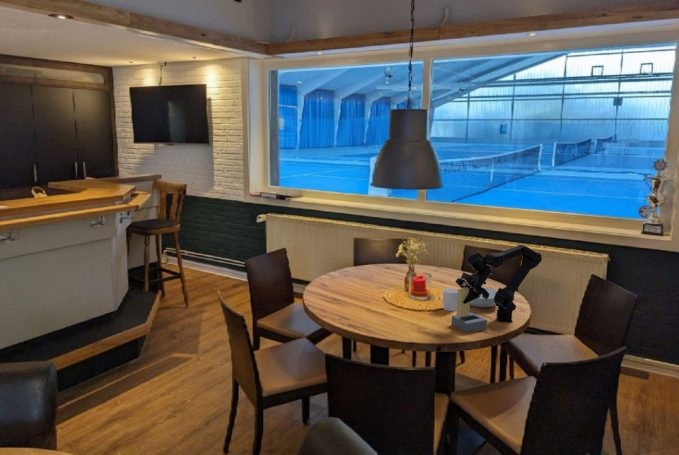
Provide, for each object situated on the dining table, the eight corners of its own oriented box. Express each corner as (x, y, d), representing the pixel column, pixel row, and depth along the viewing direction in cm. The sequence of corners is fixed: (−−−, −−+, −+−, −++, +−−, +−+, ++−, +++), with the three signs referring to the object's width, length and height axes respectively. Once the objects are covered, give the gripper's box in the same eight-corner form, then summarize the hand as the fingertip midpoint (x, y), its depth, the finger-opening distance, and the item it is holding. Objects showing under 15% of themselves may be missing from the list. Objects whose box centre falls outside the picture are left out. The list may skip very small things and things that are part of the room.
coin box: (471, 321, 254) (471, 312, 253) (486, 328, 244) (487, 319, 243) (451, 324, 248) (451, 315, 248) (466, 332, 239) (466, 323, 238)
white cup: (450, 312, 265) (451, 294, 263) (439, 308, 271) (439, 290, 269) (460, 309, 269) (461, 291, 267) (449, 305, 275) (450, 287, 274)
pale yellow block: (465, 313, 246) (466, 287, 243) (469, 315, 243) (470, 289, 240) (456, 314, 244) (457, 288, 241) (460, 317, 241) (461, 290, 238)
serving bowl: (499, 300, 285) (500, 288, 283) (500, 313, 265) (501, 300, 264) (460, 296, 290) (461, 284, 289) (459, 309, 270) (459, 296, 269)
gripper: (459, 261, 249) (439, 286, 246) (485, 271, 232) (464, 298, 230) (471, 275, 253) (452, 300, 251) (498, 285, 237) (478, 312, 234)
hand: (461, 302), depth 241 cm, fingers closed on pale yellow block, 3 cm apart
